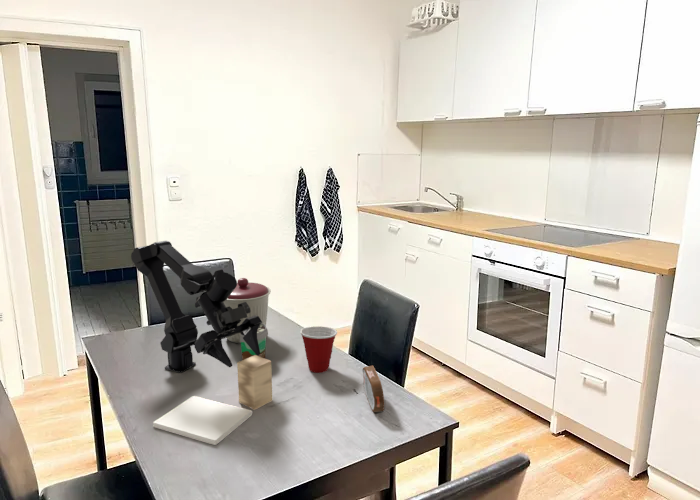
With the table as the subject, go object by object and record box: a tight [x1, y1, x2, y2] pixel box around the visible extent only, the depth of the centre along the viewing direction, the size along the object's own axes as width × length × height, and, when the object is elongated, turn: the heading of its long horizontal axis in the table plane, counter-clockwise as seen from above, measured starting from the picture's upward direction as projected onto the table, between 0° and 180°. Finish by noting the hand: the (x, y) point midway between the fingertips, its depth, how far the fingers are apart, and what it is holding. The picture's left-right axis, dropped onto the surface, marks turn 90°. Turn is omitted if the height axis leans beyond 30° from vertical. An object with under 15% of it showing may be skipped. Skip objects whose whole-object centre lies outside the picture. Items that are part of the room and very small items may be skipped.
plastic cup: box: [299, 325, 338, 374], centre depth 149 cm, size 11×11×12 cm
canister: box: [224, 277, 271, 344], centre depth 171 cm, size 18×18×21 cm
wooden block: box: [236, 355, 273, 411], centre depth 130 cm, size 6×6×11 cm
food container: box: [240, 323, 269, 361], centre depth 155 cm, size 12×6×10 cm, turn 168°
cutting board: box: [152, 395, 253, 446], centre depth 122 cm, size 18×14×1 cm
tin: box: [362, 365, 385, 413], centre depth 130 cm, size 15×3×8 cm, turn 9°
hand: (245, 360), depth 131 cm, fingers open, 9 cm apart
